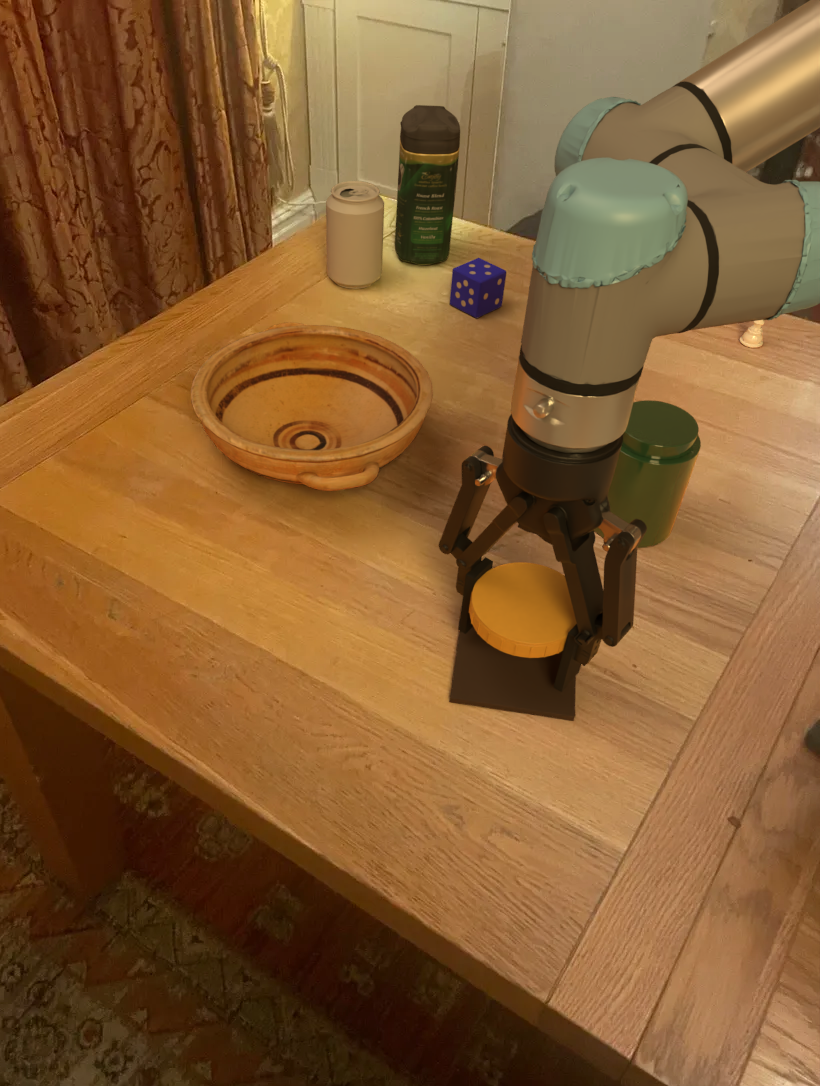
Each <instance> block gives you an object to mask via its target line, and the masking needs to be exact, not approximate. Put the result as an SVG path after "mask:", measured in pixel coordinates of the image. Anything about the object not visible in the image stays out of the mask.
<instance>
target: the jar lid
mask: <svg viewBox="0 0 820 1086" xmlns="http://www.w3.org/2000/svg"><path fill="white" fill-rule="evenodd" d="M469 613H470V619H471V624H473V626H474V628H475V630H476V632H477V634H479V635H480V637H481V638H482V639H483V640H485V641H486V642H487V643H488V644H490V645H491V646H493V647H494V648H496V649H498V650H499V651H502V652H505V653H507V654H510V655H514V656H519V657H526V658H540V657H547V656H551V655H554V654H557V653H559V652H561V651H563V650H564V646H565V643H566V639H567V635H568V632H569V631H570V630H571V629H572V628H573V627H574V626H575V625H576V624H577V622H576V619H575V615H574V611H573V607H572V603H571V599H570V595H569V591H568V587H567V583H566V579H565V575H564V573H561V572H560V571H558V570H556V569H554V568H551V567H549V566H545V565H543V564H539V563H533V562H526V561H525V562H524V561H523V562H519V561H518V562H517V561H516V562H507V563H503V564H500V565H497V566H495V567H492V569H490V570H489V571H487V572H486V573H485V574H484V575H483V576H482V577H481V578H480V579H478V580H477V582H476V583H475V585H474V588H473V591H472V592H471V599H470V606H469Z"/></svg>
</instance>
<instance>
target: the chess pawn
mask: <svg viewBox="0 0 820 1086" xmlns="http://www.w3.org/2000/svg"><path fill="white" fill-rule="evenodd" d="M765 321H766V320H757V321H752V323H753V324H752V325H751V326H749V327H748V328H747V330H746V331H745V332H743V334H742V335H741V336H740V337H739V343H741V345H743V346H745V347H747V348H749V349H750V348H751V349H757V348H760V347H762V346H763V344H764V341H763V338H764V336H763V333H764V330H763V327H762V326H763V325H765V323H766V322H765Z"/></svg>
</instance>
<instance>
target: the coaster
mask: <svg viewBox="0 0 820 1086" xmlns="http://www.w3.org/2000/svg"><path fill="white" fill-rule="evenodd" d="M456 645H457V647H456V652H455V661H454V666H453V674H452V680H451V687H450V693H449V701H448V702H449V703H453V704H459V705H467V706H471V707H473V706H474V707H479V708H486V709H491V710H497V711H506V712H511V713H518V714H519V713H520V714H524V715H531V716H539V717H544V718H551V719H557V720H564V721H572V722H574V721H575V718H576V688H577V687H576V684H577V682H576V681H577V675H576V676H575V678H574V679H573V680H572V681H571V682H570V683H569V684H568V685H567V687H566V688H565V689H564V690H563V691H562V692H560V691H559V690H557V689H555V688H554V683H555V680H556V676H557V672H558V669H559V665H560V661H561V657H562V654H563V651H561V652H559V653H557V654H554V655H551V656H547V657H540V658H526V657H519V656H514V655H510V654H507V653H505V652H502V651H499V650H498V649H496V648H494V647H493V646H491V645H490V644H488V643H487V642H486V641H485V640H483V639H482V638H481V637H480V635H479V634H477V632H476V630H475V628H474V626H473V627H472V628H471V629H470V630H469V631H468V632H467V633H466V634H464V633H463V632H461V631H459V630H458V638H457V644H456Z"/></svg>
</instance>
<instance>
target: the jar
mask: <svg viewBox="0 0 820 1086" xmlns="http://www.w3.org/2000/svg"><path fill="white" fill-rule="evenodd" d="M699 432H700V429H699V424H698V422H697V420H696V419H695V418H694V417H693V415H691V413H689V412H688V411H686V410H685V409H683V408H681V407H679V406H677V405H675V404H672V403H668V402H665V401H660V400H647V399H645V400H644V399H643V400H637V401H634V402H633V406H632V410H631V414H630V417H629V421H628V425H627V428H626V431H625V432H624V433H623V443H622V446H621V450H620V453H619V457H618V461H617V464H616V468H615V472H614V475H613V479H612V482H611V485H610V488H609V491H608V500H609V504H610V512H612V513H613V514H615V515H616V516H618V517H620V518H621V519H623V520H624V521H626V522H627V523H630V522H631V521H632V520H634V519H639V520H642V521H643V522H644V523H645V525H646V527H647V531H646V533H645V535H644V537H643V539H642V540H641V542H640V544H639V546H638V548H637V549H643V548H651V547H654V546H657V545H659V544H662V543H663V542H665V541H666V540H667V539H668V538H669V537H670V536H671V533H672V531H673V528H674V527H675V523H676V520H677V517H678V515H679V511H680V508H681V505H682V503H683V499H684V498H685V497H684V496H685V494H686V491H687V488H688V485H689V482H690V480H691V477H692V474H693V471H694V469H695V465H696V462H697V459H698V456H699V454H700V450H701V447H702V442H701V438H700V436H699ZM594 533H596V534H597V535H598V536H600V537H601V538H602V539H604V534H603V532H602V531H601V530H600V529H599V528H596V529H595V530H594Z"/></svg>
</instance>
